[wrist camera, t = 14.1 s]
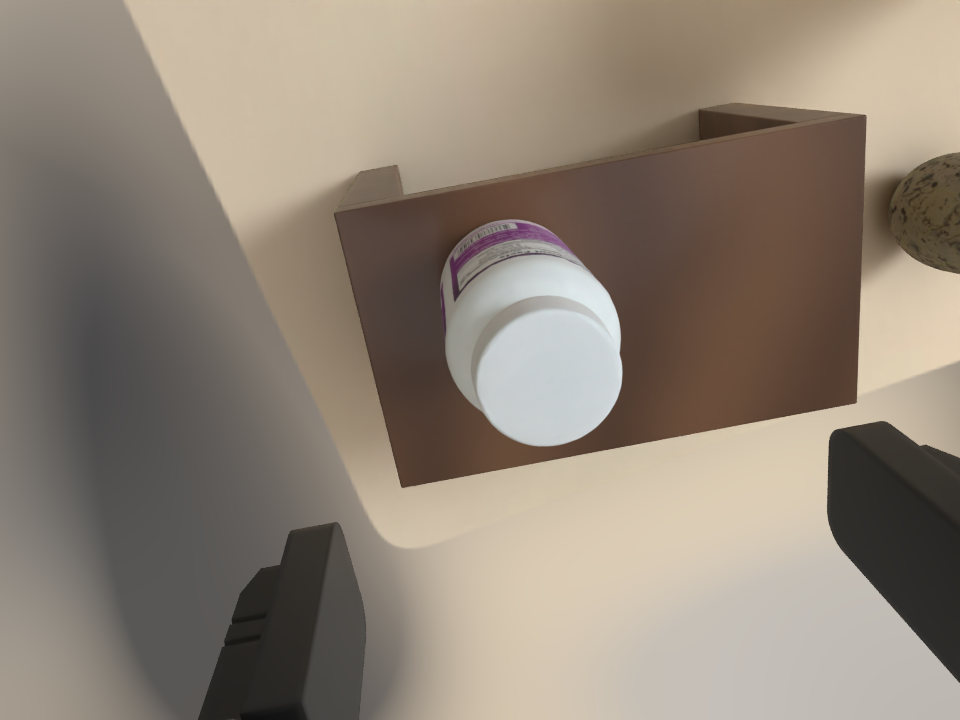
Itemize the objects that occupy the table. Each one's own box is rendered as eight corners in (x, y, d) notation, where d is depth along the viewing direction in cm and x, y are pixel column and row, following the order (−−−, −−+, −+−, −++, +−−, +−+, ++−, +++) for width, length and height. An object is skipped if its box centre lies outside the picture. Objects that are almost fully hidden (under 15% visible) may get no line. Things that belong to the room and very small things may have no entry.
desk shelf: (406, 378, 42) (401, 488, 31) (359, 171, 38) (333, 213, 26) (742, 316, 42) (857, 403, 31) (735, 102, 38) (867, 114, 27)
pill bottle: (556, 360, 29) (615, 486, 20) (427, 335, 28) (430, 456, 19) (592, 230, 27) (676, 306, 18) (456, 201, 27) (473, 265, 18)
